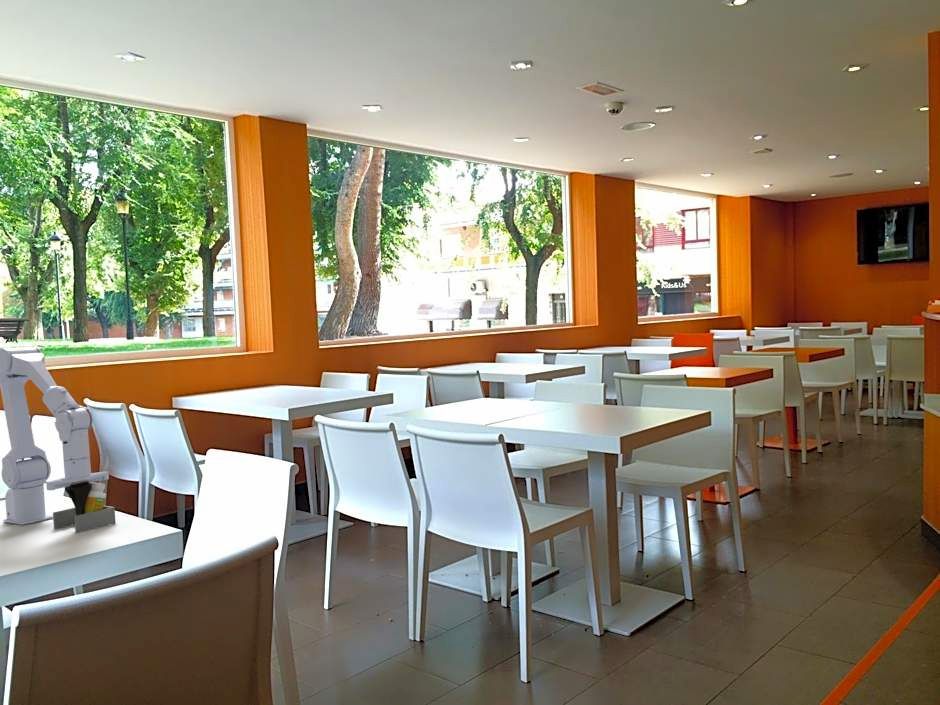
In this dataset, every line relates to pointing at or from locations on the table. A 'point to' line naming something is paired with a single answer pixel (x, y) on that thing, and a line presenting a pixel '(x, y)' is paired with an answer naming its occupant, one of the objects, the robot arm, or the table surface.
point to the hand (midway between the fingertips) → (81, 514)
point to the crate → (84, 519)
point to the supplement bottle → (95, 498)
